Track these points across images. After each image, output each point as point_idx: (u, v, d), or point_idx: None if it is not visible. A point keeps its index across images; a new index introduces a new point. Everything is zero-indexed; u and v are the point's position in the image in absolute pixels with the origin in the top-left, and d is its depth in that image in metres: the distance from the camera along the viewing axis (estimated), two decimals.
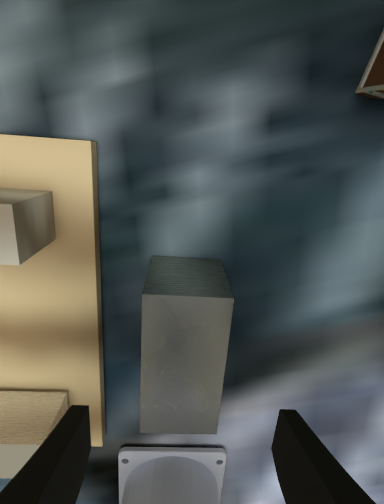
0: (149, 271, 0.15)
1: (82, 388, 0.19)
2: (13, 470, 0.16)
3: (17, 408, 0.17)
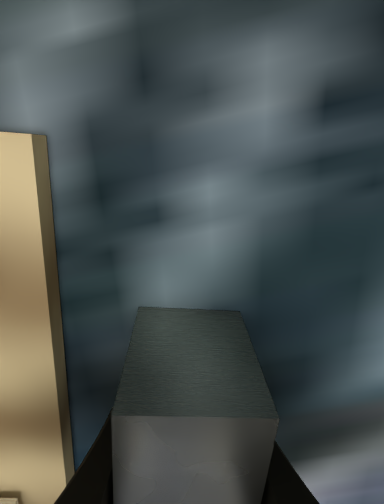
0: (130, 347, 0.09)
1: (41, 489, 0.13)
2: None
3: None
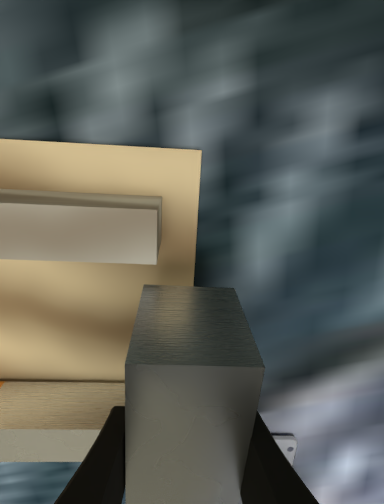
0: (138, 315, 0.11)
1: None
2: None
3: (119, 398, 0.19)
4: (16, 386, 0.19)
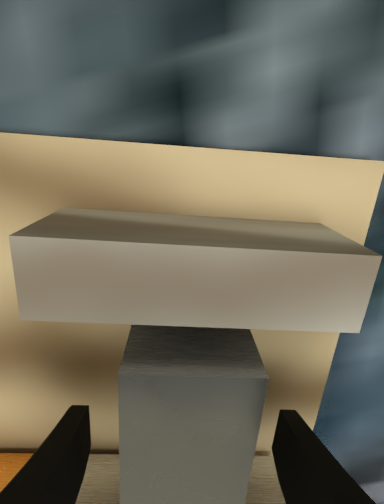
0: None
1: None
2: None
3: None
4: (95, 462, 0.15)
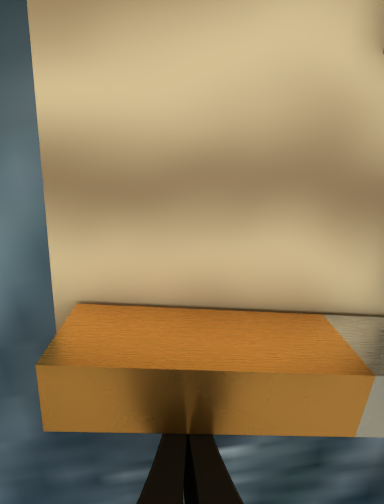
0: None
1: None
2: None
3: None
4: (350, 321, 0.12)
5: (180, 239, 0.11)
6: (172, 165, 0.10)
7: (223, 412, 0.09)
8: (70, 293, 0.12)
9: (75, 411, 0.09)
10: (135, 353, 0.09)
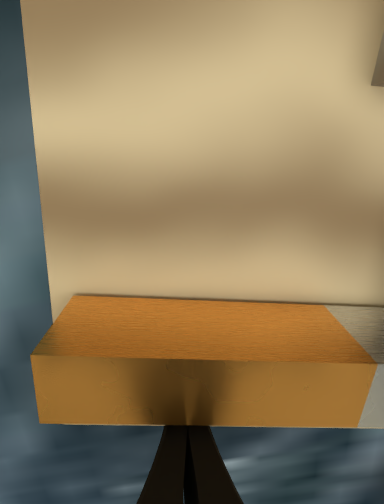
0: None
1: None
2: None
3: None
4: (351, 311, 0.12)
5: (176, 263, 0.12)
6: (167, 193, 0.11)
7: (222, 403, 0.09)
8: None
9: (71, 402, 0.09)
10: (132, 343, 0.09)
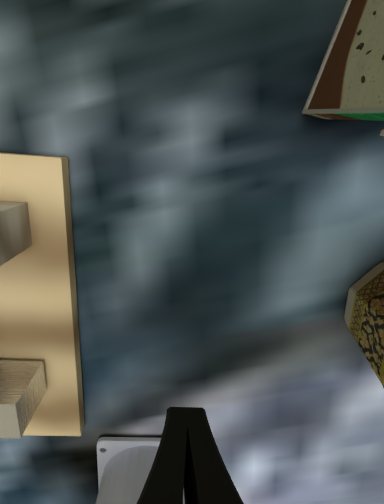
0: None
1: (60, 382, 0.21)
2: None
3: None
4: None
5: None
6: None
7: None
8: None
9: None
10: None
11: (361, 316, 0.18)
